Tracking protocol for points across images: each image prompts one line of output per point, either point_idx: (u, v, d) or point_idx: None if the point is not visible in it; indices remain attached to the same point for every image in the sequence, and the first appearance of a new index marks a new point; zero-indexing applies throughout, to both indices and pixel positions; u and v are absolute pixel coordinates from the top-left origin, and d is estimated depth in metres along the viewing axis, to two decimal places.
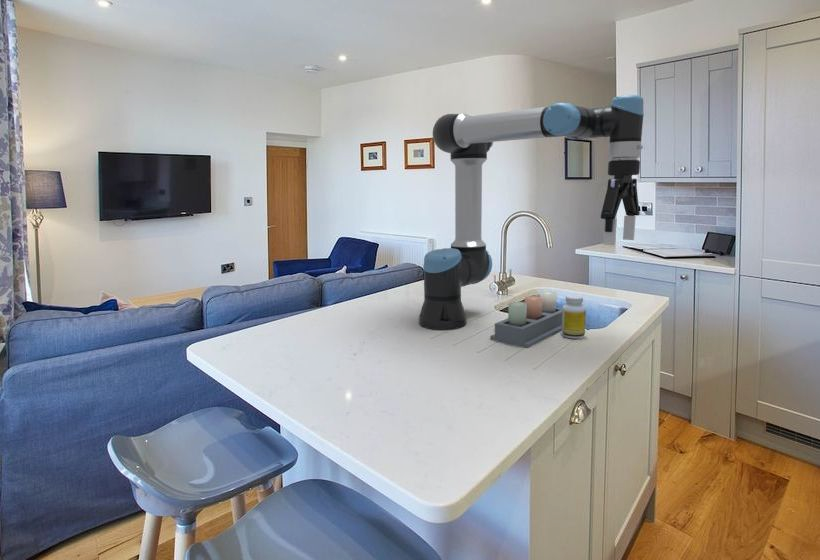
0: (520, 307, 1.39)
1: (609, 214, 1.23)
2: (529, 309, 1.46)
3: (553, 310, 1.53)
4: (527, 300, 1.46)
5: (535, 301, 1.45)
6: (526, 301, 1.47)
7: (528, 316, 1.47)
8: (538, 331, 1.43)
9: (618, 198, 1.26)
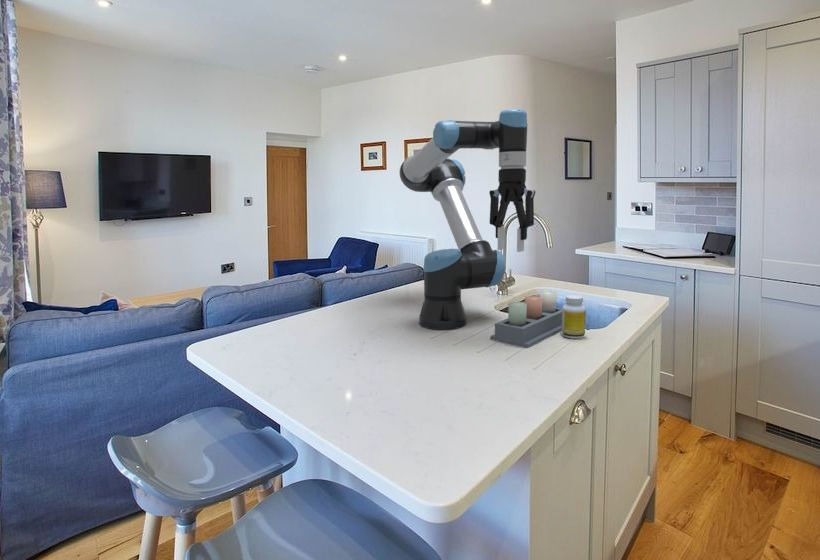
0: (520, 307, 1.39)
1: None
2: (529, 309, 1.46)
3: (553, 310, 1.53)
4: (527, 300, 1.46)
5: (535, 301, 1.45)
6: (526, 301, 1.47)
7: (528, 316, 1.47)
8: (538, 331, 1.43)
9: None
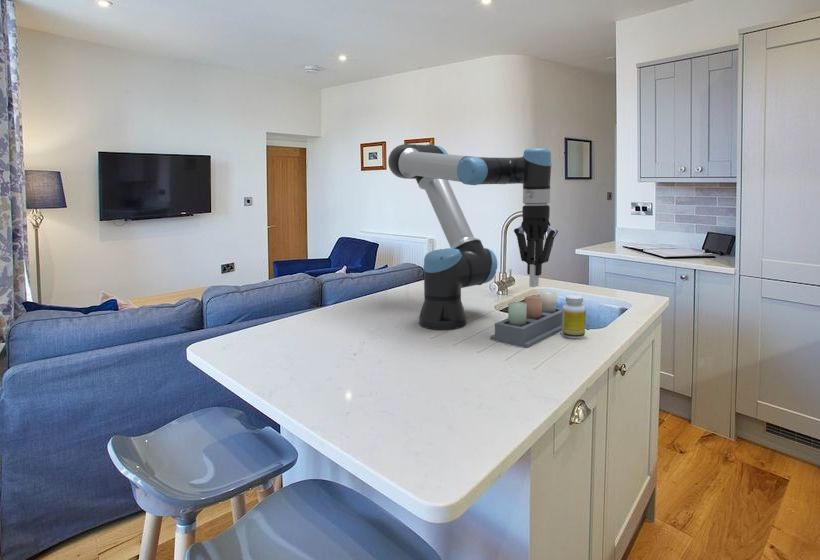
0: (520, 307, 1.39)
1: None
2: (529, 309, 1.46)
3: (553, 310, 1.53)
4: (527, 300, 1.46)
5: (535, 301, 1.45)
6: (526, 301, 1.47)
7: (528, 316, 1.47)
8: (538, 331, 1.43)
9: None
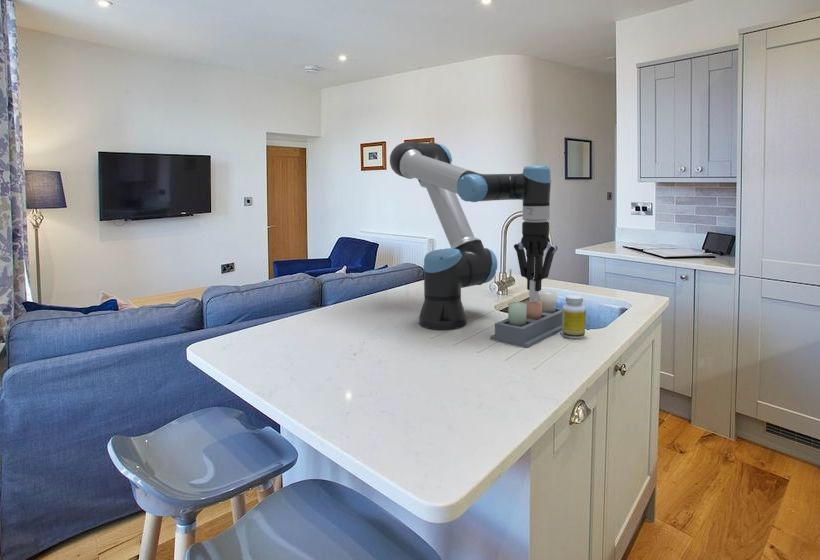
0: (520, 307, 1.39)
1: None
2: (529, 313, 1.46)
3: (553, 310, 1.53)
4: (527, 304, 1.47)
5: (535, 305, 1.45)
6: None
7: None
8: (538, 331, 1.43)
9: None
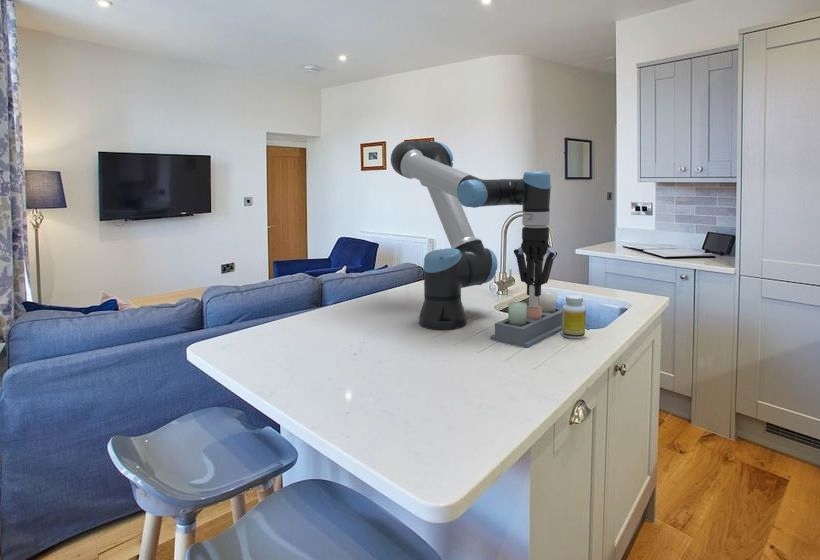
0: (520, 307, 1.39)
1: None
2: None
3: (553, 310, 1.53)
4: (527, 309, 1.47)
5: (535, 310, 1.46)
6: None
7: None
8: (538, 331, 1.43)
9: None
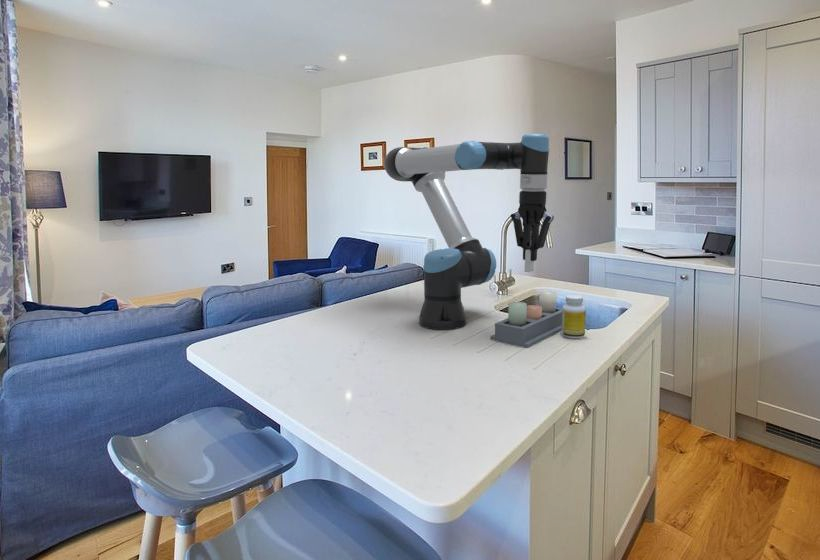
0: (520, 307, 1.39)
1: None
2: None
3: (553, 310, 1.53)
4: (527, 309, 1.47)
5: (535, 310, 1.46)
6: None
7: None
8: (538, 331, 1.43)
9: None
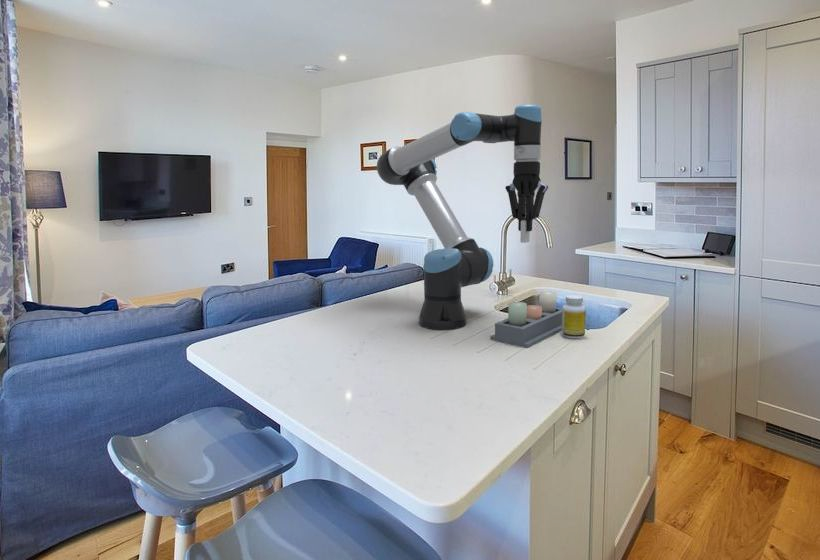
0: (520, 307, 1.39)
1: None
2: None
3: (553, 310, 1.53)
4: (527, 309, 1.47)
5: (535, 310, 1.46)
6: None
7: None
8: (538, 331, 1.43)
9: None
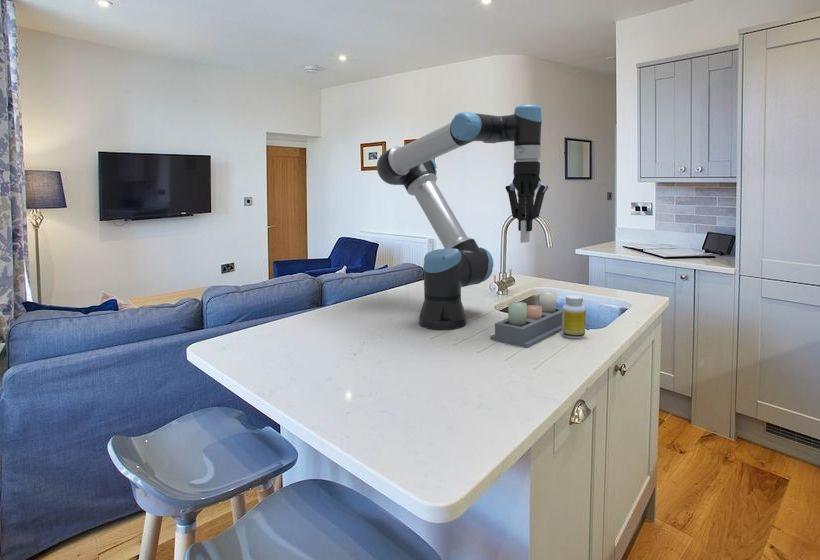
0: (520, 307, 1.39)
1: None
2: None
3: (553, 310, 1.53)
4: (527, 309, 1.47)
5: (535, 310, 1.46)
6: None
7: None
8: (538, 331, 1.43)
9: None
